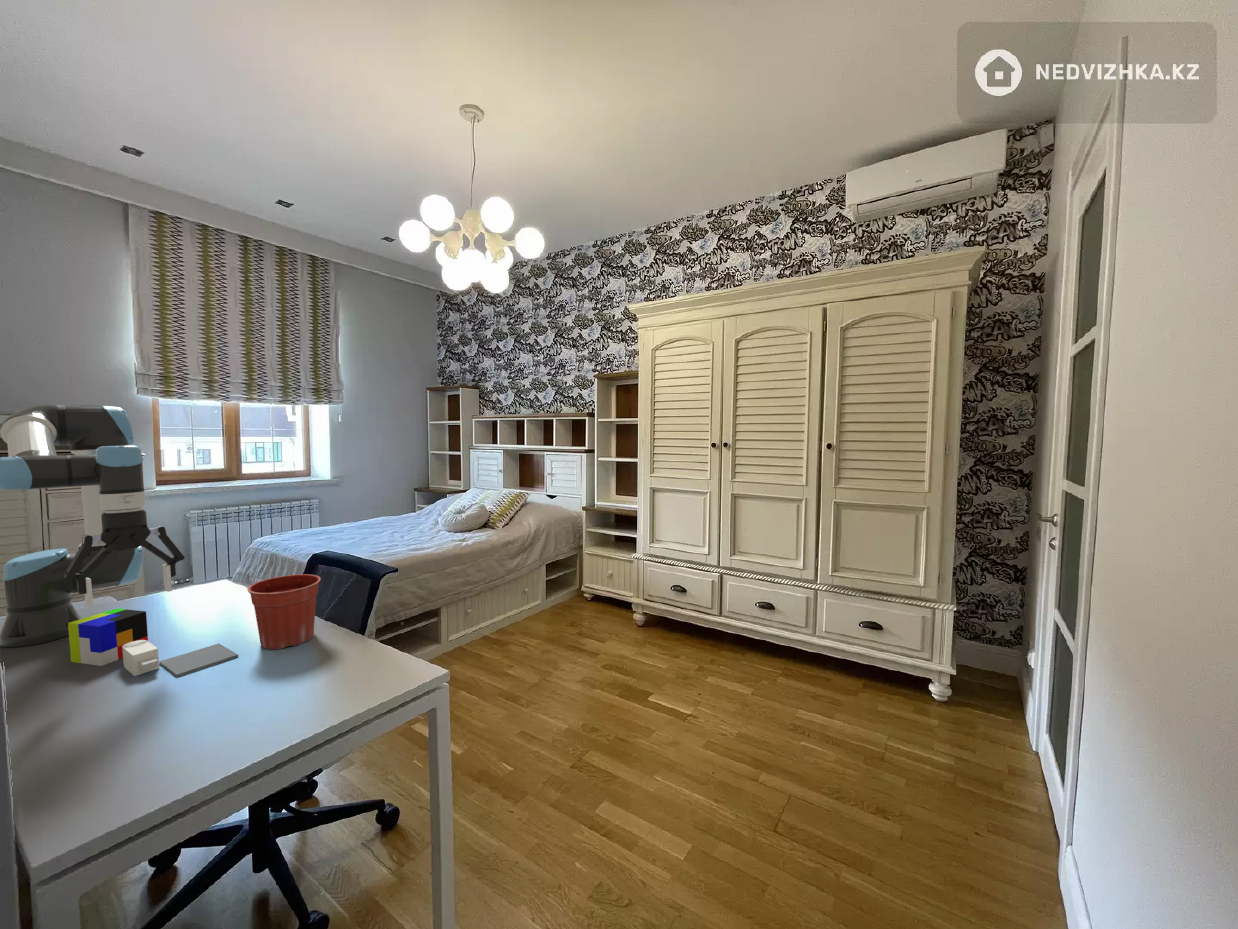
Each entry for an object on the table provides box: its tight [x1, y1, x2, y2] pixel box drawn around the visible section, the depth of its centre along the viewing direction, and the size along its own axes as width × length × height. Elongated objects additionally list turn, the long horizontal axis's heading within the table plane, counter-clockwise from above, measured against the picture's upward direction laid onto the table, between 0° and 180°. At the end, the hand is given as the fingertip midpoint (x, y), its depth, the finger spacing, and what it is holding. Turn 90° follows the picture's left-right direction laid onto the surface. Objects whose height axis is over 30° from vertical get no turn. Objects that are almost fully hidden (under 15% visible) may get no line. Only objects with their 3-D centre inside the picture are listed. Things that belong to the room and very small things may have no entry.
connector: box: [122, 640, 160, 677], centre depth 117 cm, size 13×4×5 cm, turn 58°
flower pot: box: [246, 573, 321, 650], centre depth 133 cm, size 16×16×16 cm
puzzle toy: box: [68, 608, 149, 667], centre depth 124 cm, size 10×10×10 cm
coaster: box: [159, 643, 239, 678], centre depth 122 cm, size 12×12×1 cm
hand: (130, 598), depth 117 cm, fingers open, 13 cm apart
